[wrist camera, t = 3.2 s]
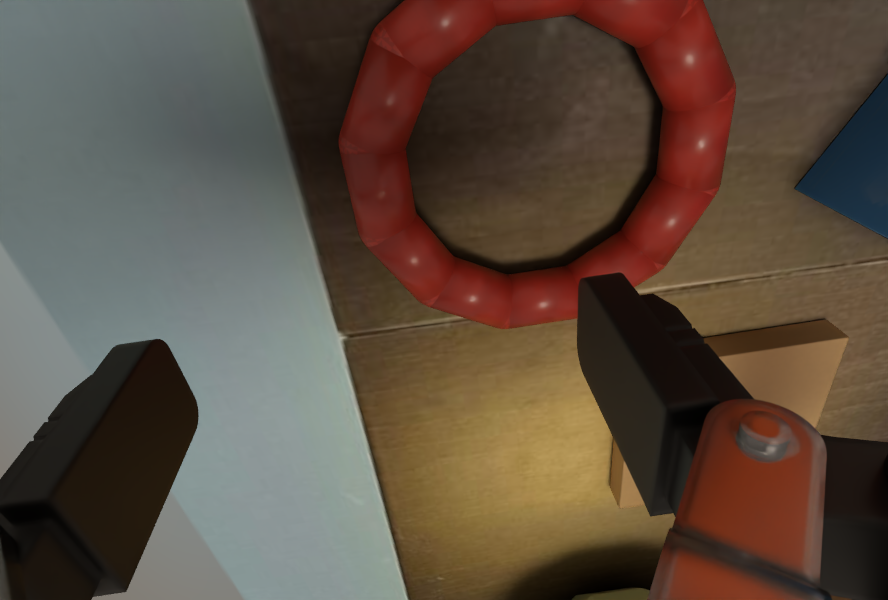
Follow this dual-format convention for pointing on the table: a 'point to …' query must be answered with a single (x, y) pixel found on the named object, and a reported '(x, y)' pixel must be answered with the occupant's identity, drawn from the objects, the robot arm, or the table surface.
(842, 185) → the perfume bottle
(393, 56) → the ring
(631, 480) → the peg stand
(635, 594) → the tennis ball
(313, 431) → the table surface
